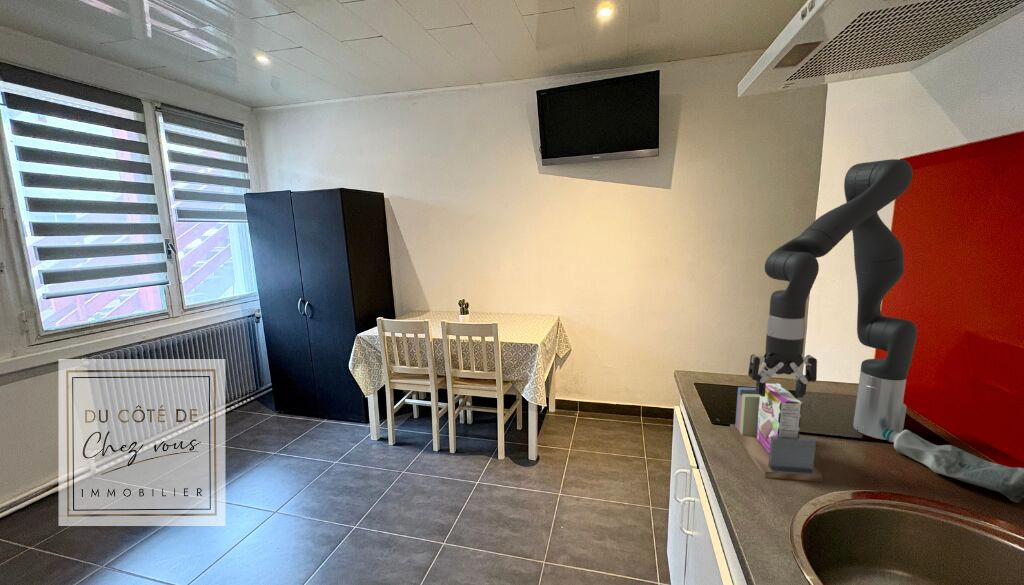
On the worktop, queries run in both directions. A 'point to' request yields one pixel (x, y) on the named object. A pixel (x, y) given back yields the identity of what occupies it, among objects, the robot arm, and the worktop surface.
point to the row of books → (747, 411)
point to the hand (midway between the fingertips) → (779, 395)
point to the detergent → (959, 464)
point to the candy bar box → (777, 415)
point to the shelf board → (767, 458)
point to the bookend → (792, 455)
